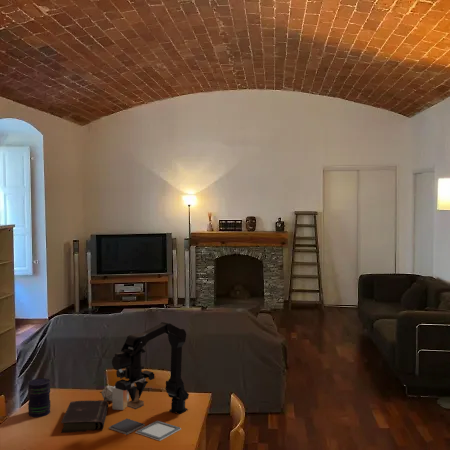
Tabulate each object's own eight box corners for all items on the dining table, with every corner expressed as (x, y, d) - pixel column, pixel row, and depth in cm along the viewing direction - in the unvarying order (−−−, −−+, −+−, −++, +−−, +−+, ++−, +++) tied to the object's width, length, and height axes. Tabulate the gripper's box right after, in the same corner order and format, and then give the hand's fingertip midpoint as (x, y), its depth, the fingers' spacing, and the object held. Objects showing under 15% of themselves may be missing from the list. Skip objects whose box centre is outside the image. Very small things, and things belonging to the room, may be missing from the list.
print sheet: (157, 421, 237) (157, 420, 237) (181, 429, 229) (181, 427, 229) (135, 432, 226) (135, 431, 226) (160, 441, 218) (160, 439, 218)
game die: (113, 407, 263) (125, 391, 264) (104, 407, 255) (117, 390, 256) (101, 396, 267) (114, 379, 268) (93, 395, 259) (105, 378, 260)
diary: (108, 409, 253) (108, 399, 253) (103, 432, 228) (103, 420, 228) (68, 411, 250) (68, 400, 250) (58, 434, 226) (58, 422, 225)
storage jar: (28, 418, 240) (28, 386, 240) (27, 411, 249) (27, 379, 249) (51, 415, 244) (51, 383, 244) (49, 407, 253) (49, 377, 253)
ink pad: (126, 419, 239) (126, 417, 239) (144, 425, 233) (144, 423, 233) (108, 428, 230) (108, 426, 230) (126, 434, 224) (126, 432, 224)
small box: (123, 410, 250) (123, 388, 250) (112, 409, 251) (111, 387, 251) (129, 404, 258) (129, 383, 257) (118, 403, 259) (118, 382, 258)
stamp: (135, 403, 234) (135, 387, 233) (143, 405, 231) (143, 389, 230) (127, 406, 230) (127, 390, 229) (135, 409, 227) (135, 393, 226)
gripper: (137, 355, 241) (137, 389, 242) (106, 366, 226) (106, 402, 227) (155, 360, 235) (155, 394, 236) (124, 371, 220) (124, 408, 221)
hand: (135, 399), depth 230 cm, fingers closed on stamp, 3 cm apart
